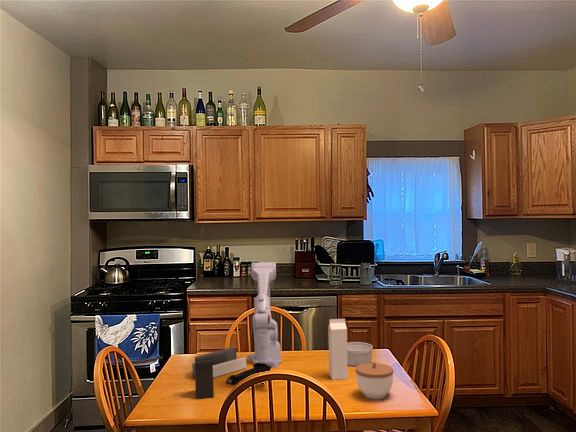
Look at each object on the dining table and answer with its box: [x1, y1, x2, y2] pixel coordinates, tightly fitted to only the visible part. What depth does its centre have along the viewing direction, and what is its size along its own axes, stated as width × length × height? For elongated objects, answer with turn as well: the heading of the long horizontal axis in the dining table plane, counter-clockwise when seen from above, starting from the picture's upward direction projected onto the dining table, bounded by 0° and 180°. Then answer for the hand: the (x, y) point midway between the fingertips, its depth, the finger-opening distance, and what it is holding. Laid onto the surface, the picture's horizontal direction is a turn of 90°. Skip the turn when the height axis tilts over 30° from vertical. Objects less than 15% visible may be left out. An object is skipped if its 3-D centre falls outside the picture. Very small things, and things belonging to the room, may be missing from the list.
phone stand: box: [194, 359, 215, 400], centre depth 172 cm, size 9×6×12 cm, turn 11°
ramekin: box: [347, 341, 373, 367], centre depth 205 cm, size 13×13×7 cm
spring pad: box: [213, 356, 247, 379], centre depth 193 cm, size 21×2×6 cm, turn 134°
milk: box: [327, 318, 349, 381], centre depth 187 cm, size 6×6×22 cm
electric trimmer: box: [225, 367, 256, 386], centre depth 187 cm, size 4×16×3 cm, turn 141°
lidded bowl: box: [355, 361, 394, 400], centre depth 168 cm, size 13×13×11 cm
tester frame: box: [191, 346, 237, 378], centre depth 196 cm, size 21×8×7 cm, turn 134°
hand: (263, 383), depth 179 cm, fingers closed
